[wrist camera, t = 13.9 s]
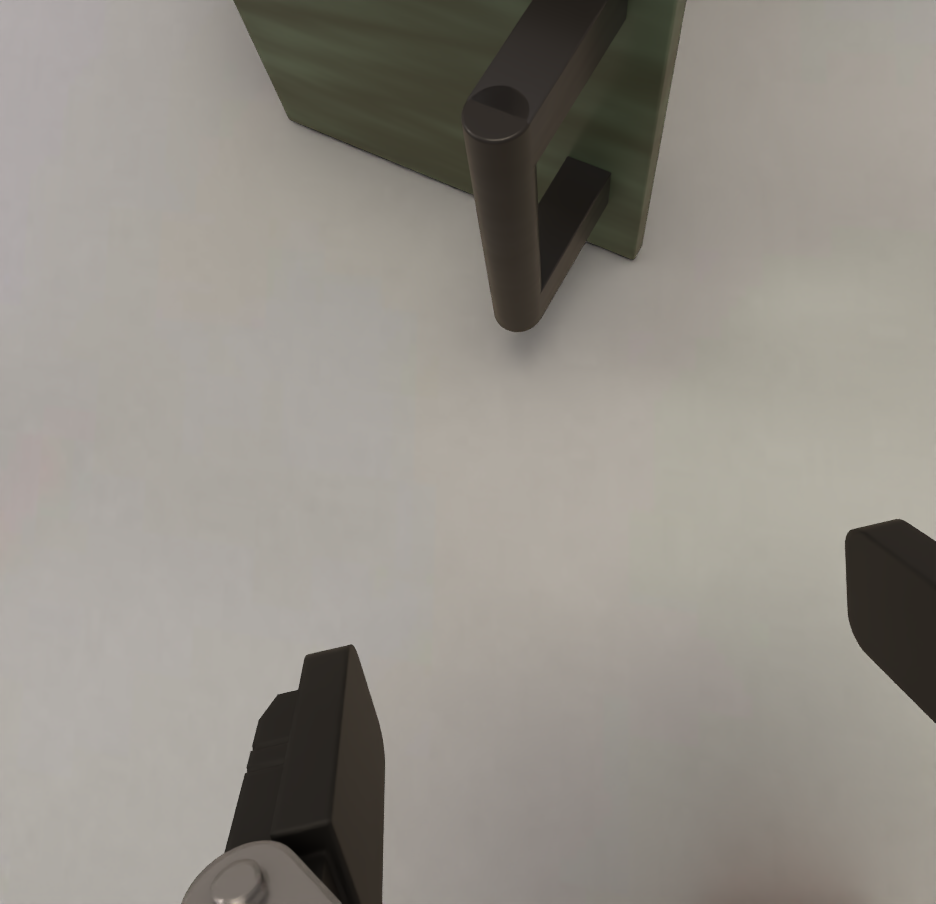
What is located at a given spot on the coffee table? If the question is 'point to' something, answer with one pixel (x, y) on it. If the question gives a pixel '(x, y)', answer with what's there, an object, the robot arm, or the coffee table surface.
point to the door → (493, 113)
